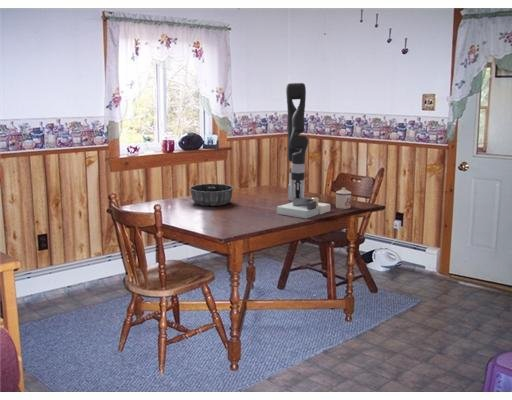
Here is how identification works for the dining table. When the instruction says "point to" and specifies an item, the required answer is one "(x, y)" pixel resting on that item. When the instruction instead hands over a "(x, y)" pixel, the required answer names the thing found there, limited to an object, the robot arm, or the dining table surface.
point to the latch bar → (304, 200)
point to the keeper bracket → (311, 205)
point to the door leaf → (296, 210)
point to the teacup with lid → (343, 199)
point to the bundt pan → (211, 194)
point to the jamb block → (322, 207)
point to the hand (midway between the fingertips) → (297, 201)
